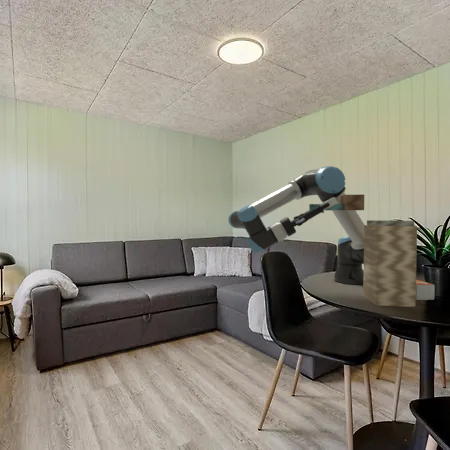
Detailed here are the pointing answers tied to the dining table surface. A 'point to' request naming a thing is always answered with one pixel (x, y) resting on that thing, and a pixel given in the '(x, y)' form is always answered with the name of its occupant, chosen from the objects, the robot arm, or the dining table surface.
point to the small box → (424, 290)
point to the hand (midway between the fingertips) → (334, 200)
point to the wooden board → (390, 263)
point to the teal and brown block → (345, 203)
